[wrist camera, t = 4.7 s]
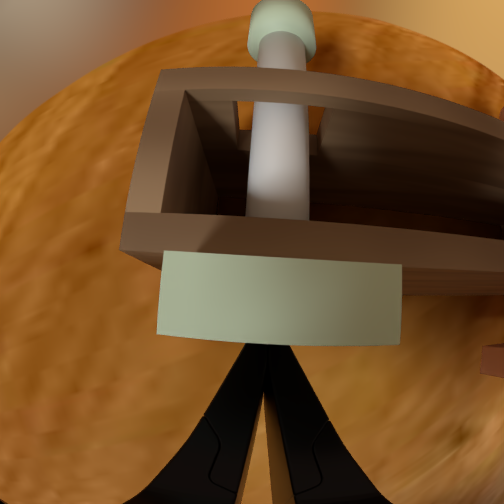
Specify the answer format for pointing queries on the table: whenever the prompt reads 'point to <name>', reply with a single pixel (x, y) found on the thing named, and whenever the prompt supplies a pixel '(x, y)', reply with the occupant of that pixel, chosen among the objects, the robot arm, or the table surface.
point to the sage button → (282, 207)
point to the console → (321, 176)
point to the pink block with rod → (493, 356)
